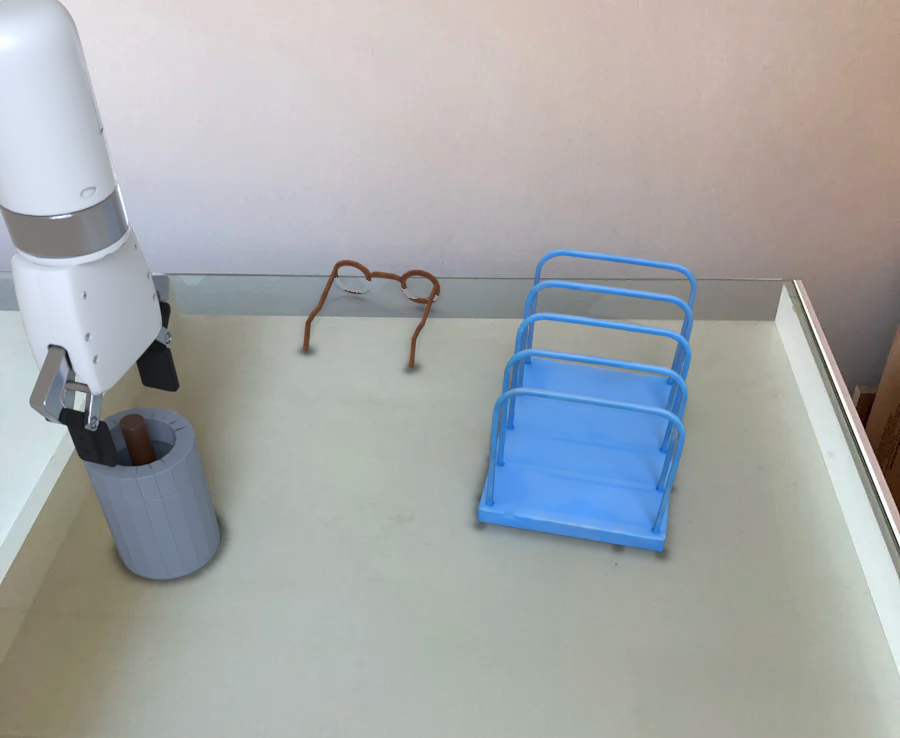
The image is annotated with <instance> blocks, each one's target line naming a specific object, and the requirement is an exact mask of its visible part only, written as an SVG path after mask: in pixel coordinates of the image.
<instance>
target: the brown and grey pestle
mask: <svg viewBox="0 0 900 738" xmlns="http://www.w3.org/2000/svg"><path fill="white" fill-rule="evenodd" d="M119 425H120V428H121V431H122V434H123V437H124V440H125V443H126V446H127V449H128V453H129V456H130V459H131V462H132V465H133V466H142V465H147V464H150V463H153V462H155V461H157V458H156V455H155V451H154V448H153V445H152V442H151V438H150V435H149V432H148V428H147V425H146V422H145V419H144V417H143V416H142V415H139V414H129V415H126V416H124V417H123V418H122V419H121V420H120V422H119Z"/></svg>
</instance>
